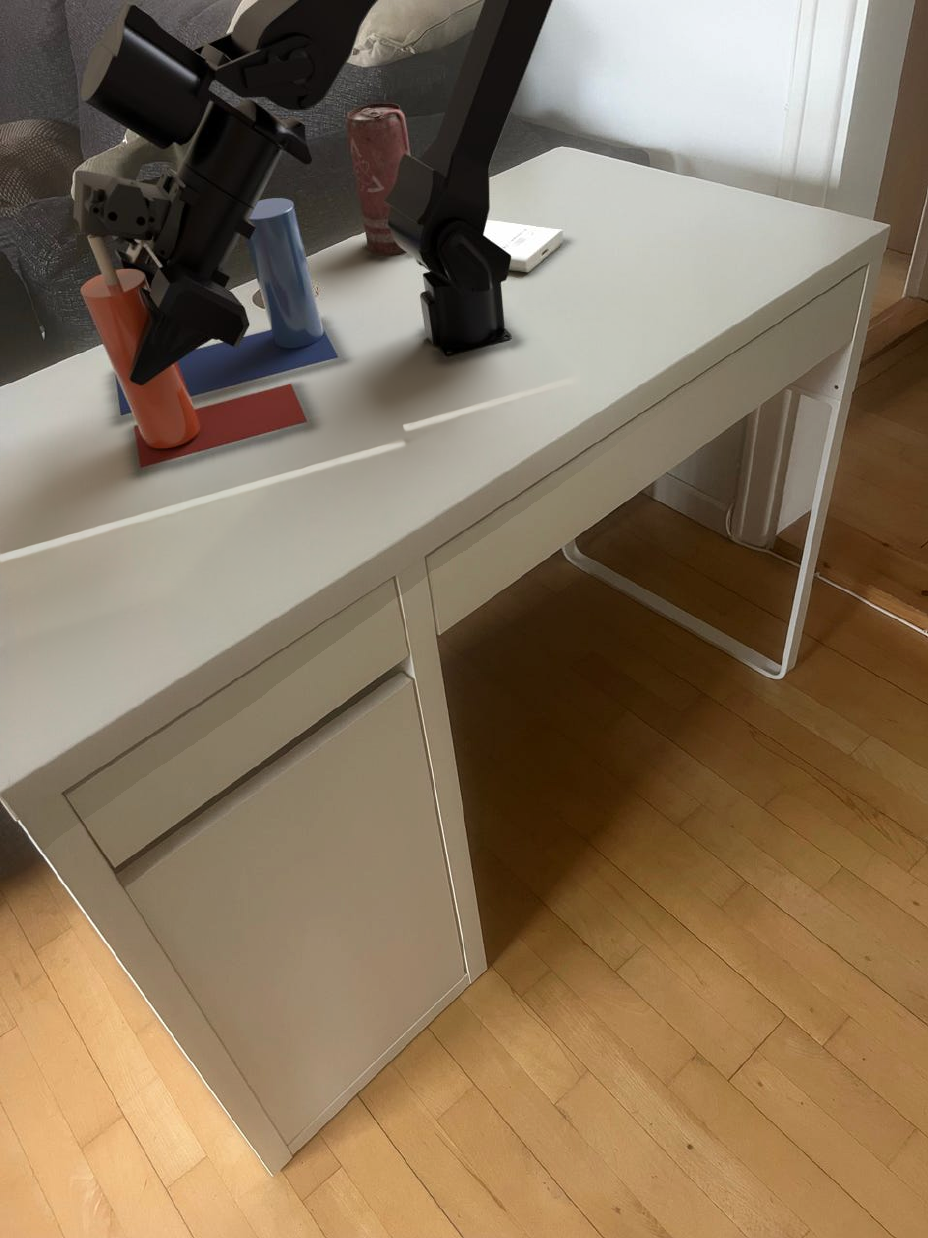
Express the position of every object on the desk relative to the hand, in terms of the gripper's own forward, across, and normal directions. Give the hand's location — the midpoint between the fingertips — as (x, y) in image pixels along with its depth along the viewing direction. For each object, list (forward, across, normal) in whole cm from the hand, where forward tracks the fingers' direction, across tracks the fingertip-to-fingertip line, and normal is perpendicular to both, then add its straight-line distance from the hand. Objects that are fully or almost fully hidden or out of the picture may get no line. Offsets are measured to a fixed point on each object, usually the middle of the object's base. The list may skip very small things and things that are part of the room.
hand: (128, 369), depth 71 cm
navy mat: (-1, -10, +11) cm, 15 cm away
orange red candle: (+4, 0, +6) cm, 7 cm away
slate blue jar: (-7, -10, +16) cm, 20 cm away
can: (-18, -24, +29) cm, 41 cm away
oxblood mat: (+1, +1, +9) cm, 9 cm away
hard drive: (-24, -16, +34) cm, 44 cm away
